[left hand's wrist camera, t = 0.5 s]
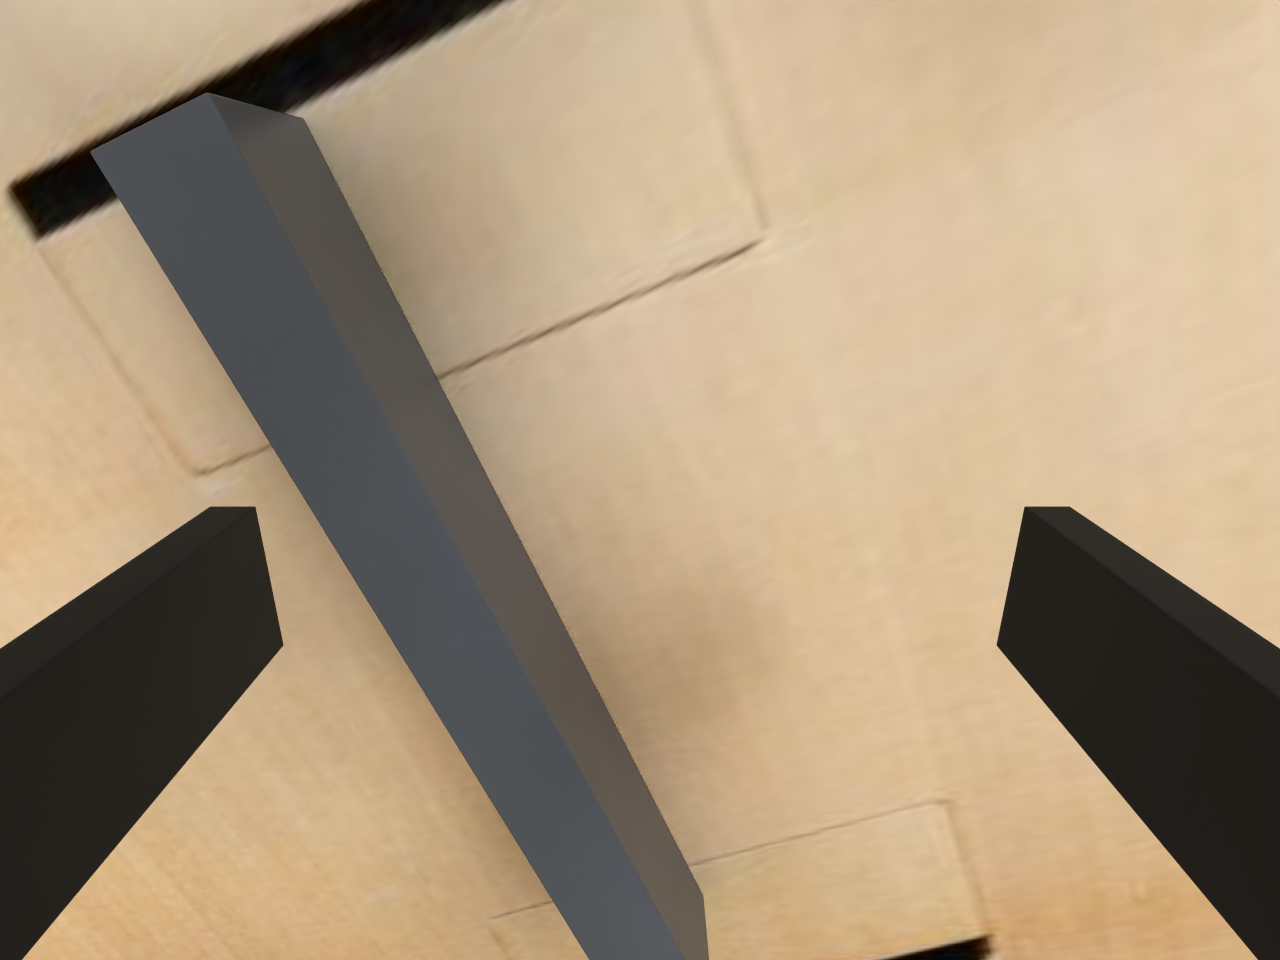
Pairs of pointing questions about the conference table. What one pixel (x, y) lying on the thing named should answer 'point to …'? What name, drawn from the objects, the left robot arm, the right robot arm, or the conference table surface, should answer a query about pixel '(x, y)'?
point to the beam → (405, 503)
